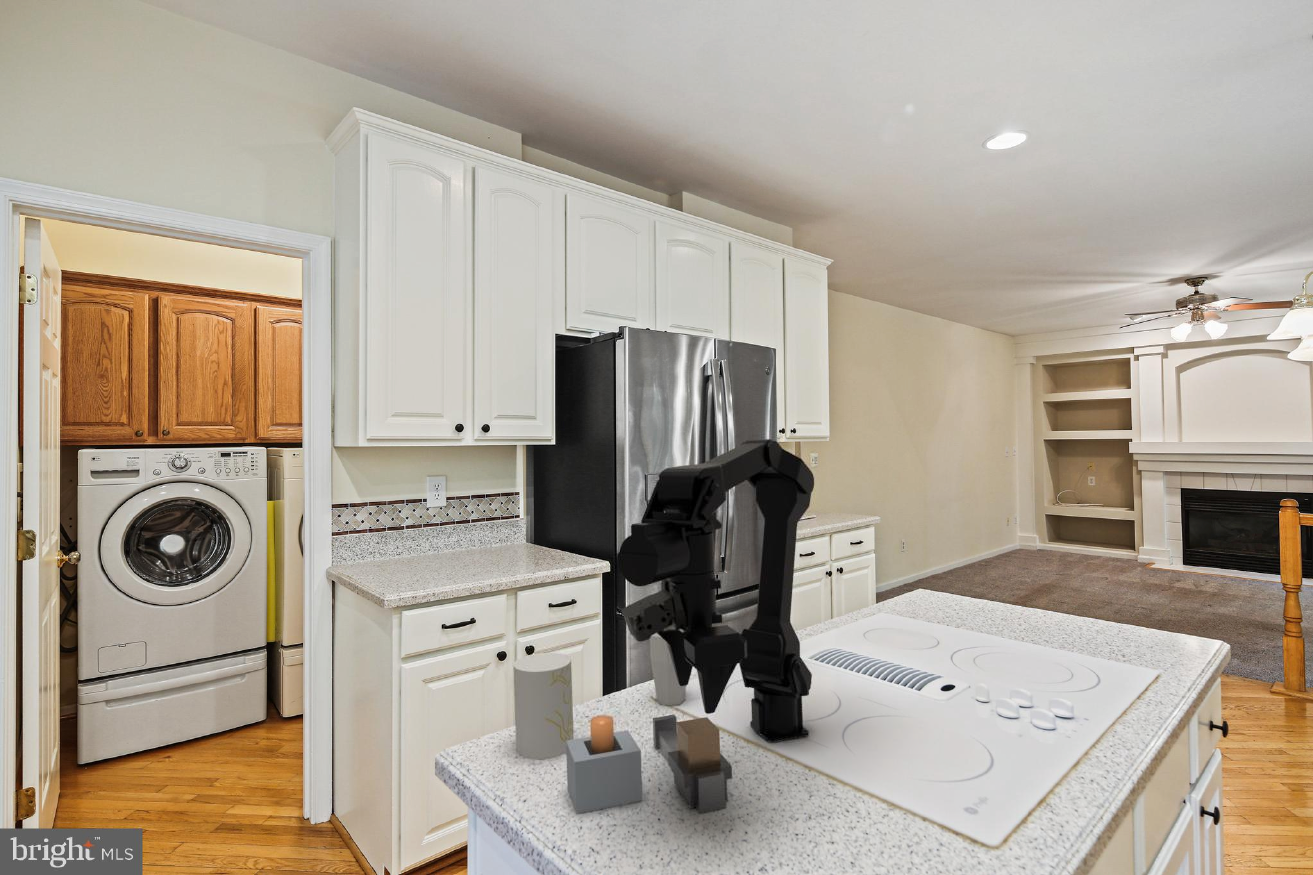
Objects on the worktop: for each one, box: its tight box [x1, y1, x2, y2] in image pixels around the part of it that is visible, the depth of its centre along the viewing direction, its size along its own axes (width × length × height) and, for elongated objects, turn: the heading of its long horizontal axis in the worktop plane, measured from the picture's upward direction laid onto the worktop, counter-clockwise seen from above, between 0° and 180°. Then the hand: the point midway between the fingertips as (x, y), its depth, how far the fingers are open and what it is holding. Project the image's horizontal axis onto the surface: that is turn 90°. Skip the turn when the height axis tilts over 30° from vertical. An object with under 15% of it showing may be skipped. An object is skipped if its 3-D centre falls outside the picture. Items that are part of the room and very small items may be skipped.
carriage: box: [667, 716, 733, 808], centre depth 80 cm, size 6×6×8 cm
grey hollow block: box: [565, 730, 643, 815], centre depth 81 cm, size 8×6×6 cm
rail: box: [652, 714, 726, 814], centre depth 85 cm, size 3×18×4 cm, turn 17°
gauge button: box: [589, 714, 615, 754], centre depth 81 cm, size 3×3×4 cm
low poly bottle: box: [649, 581, 687, 707], centre depth 110 cm, size 6×6×22 cm
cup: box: [513, 652, 575, 760], centre depth 95 cm, size 8×8×12 cm
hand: (695, 698), depth 81 cm, fingers open, 9 cm apart
